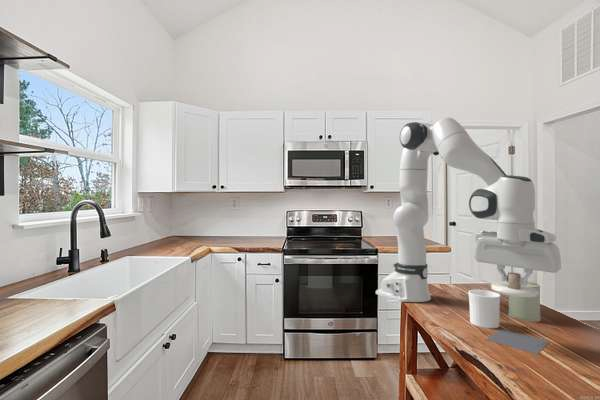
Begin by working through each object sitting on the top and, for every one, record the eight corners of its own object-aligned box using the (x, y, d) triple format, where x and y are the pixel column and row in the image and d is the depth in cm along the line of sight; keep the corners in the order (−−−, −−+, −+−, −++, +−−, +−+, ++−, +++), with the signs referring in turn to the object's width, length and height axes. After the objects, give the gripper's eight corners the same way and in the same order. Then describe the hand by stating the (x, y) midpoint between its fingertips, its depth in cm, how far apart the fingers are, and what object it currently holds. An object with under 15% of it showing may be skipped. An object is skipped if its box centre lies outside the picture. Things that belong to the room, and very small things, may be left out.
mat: (486, 342, 92) (486, 339, 92) (500, 331, 100) (500, 328, 100) (537, 357, 83) (537, 354, 83) (549, 343, 91) (549, 340, 91)
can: (546, 323, 107) (546, 285, 107) (515, 321, 109) (514, 284, 109) (532, 313, 116) (532, 279, 116) (503, 312, 118) (503, 278, 118)
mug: (507, 329, 101) (507, 296, 101) (483, 332, 99) (482, 298, 99) (481, 318, 112) (480, 287, 112) (458, 320, 110) (457, 289, 110)
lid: (485, 290, 92) (485, 272, 92) (498, 284, 100) (499, 267, 100) (531, 299, 84) (532, 280, 84) (543, 292, 91) (543, 274, 91)
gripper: (471, 230, 98) (470, 277, 98) (557, 237, 82) (556, 293, 82) (479, 229, 102) (478, 274, 102) (563, 236, 86) (562, 289, 86)
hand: (514, 283), depth 92 cm, fingers closed on lid, 3 cm apart
